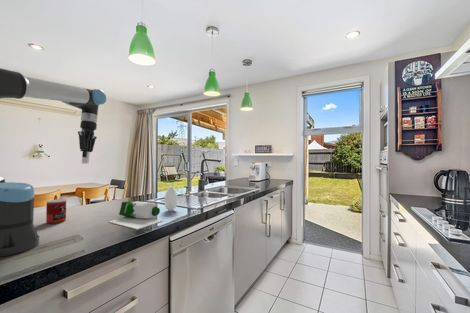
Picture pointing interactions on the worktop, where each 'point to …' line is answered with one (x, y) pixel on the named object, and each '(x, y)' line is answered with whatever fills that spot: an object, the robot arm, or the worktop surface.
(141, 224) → the mat
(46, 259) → the worktop surface
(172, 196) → the sauce bottle
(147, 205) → the soya milk
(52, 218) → the canned food
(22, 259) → the worktop surface
